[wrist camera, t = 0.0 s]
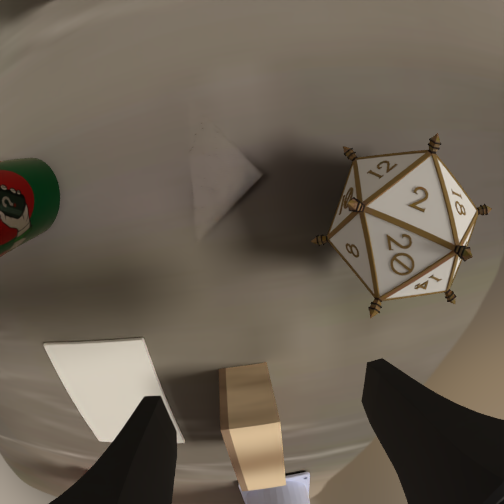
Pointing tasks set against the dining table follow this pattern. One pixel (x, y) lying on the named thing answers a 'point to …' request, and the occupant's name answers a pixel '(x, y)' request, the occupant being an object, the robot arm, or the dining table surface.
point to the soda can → (26, 201)
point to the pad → (107, 381)
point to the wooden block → (251, 426)
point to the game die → (403, 224)
